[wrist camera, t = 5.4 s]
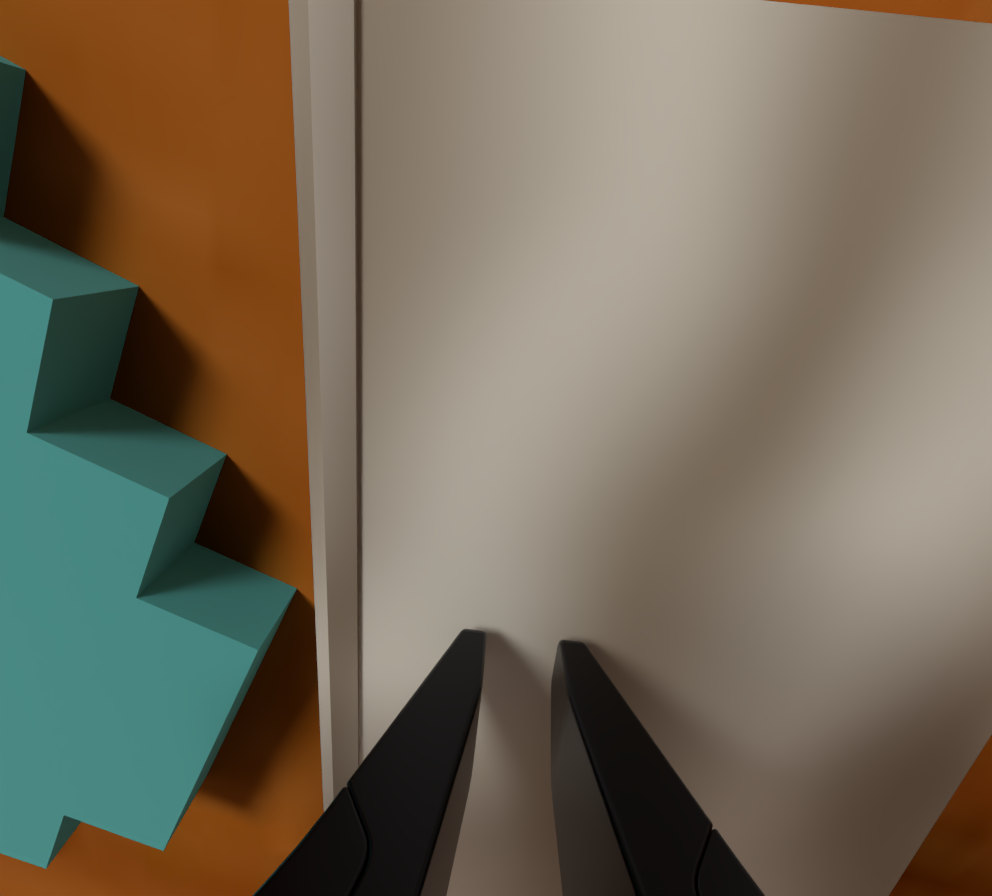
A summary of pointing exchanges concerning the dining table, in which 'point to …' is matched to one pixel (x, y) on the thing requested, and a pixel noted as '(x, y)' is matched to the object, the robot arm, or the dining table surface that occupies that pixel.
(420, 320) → the white flat slab
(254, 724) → the dining table surface
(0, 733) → the alien figure
